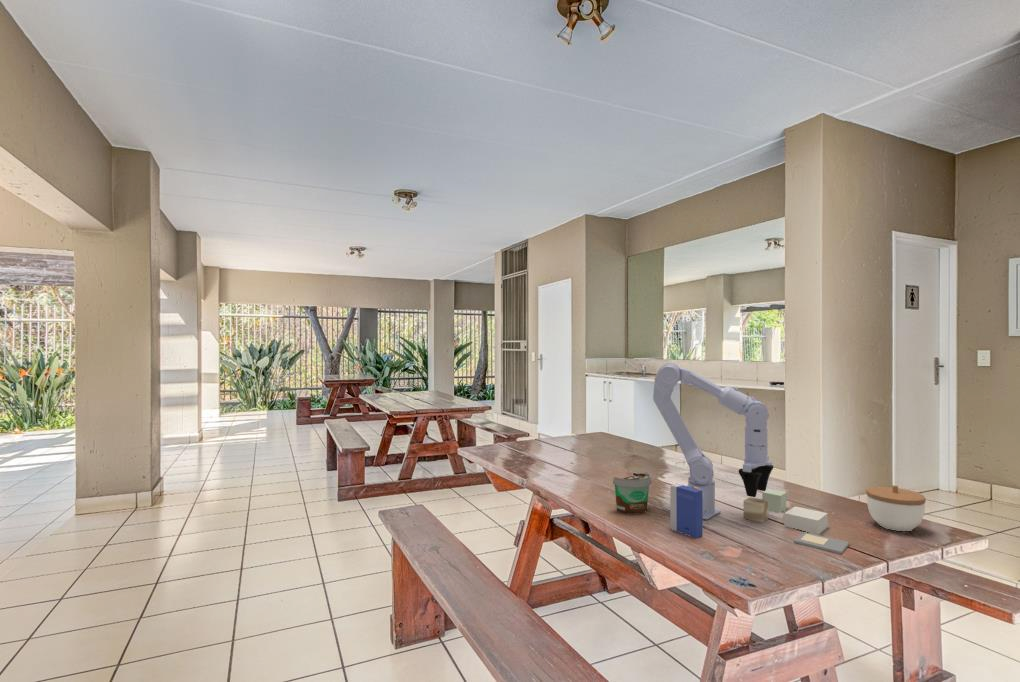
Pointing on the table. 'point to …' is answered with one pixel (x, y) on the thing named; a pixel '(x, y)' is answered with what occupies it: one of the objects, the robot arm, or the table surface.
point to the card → (822, 542)
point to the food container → (632, 493)
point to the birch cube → (756, 509)
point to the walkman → (686, 510)
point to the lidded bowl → (895, 507)
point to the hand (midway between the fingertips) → (756, 493)
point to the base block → (806, 520)
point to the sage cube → (775, 500)
